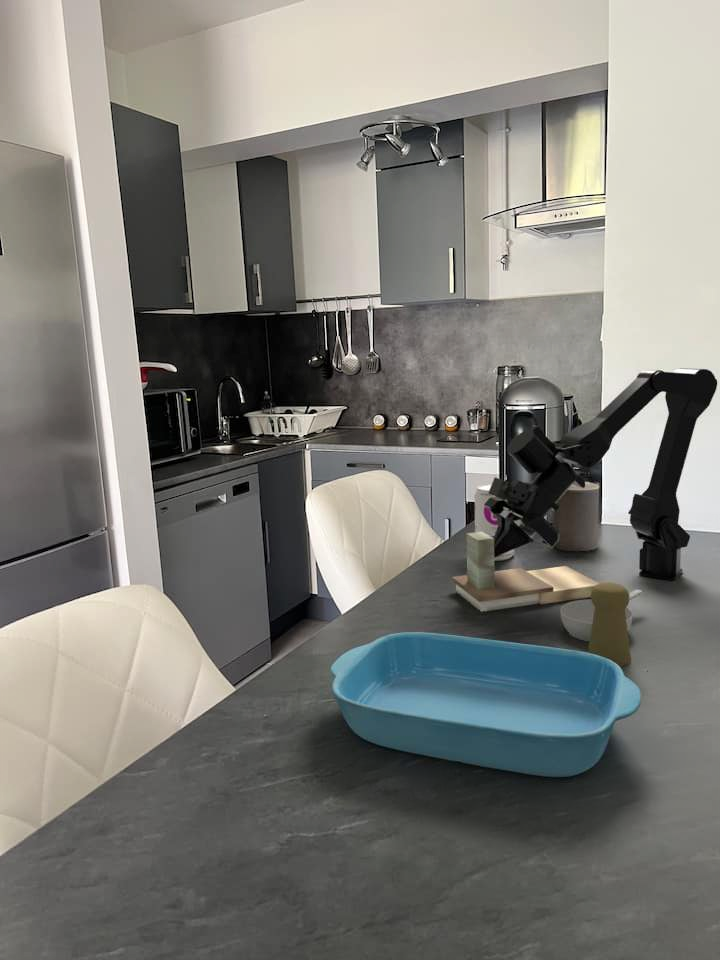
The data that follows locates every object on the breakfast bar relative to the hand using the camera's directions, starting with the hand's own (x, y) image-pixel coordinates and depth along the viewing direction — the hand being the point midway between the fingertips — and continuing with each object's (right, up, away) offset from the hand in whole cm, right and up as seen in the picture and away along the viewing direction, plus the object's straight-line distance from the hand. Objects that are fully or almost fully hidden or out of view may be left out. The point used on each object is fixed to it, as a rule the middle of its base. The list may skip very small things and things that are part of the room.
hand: (489, 556), depth 132 cm
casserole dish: (-9, -17, -42) cm, 46 cm away
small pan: (+17, -10, -13) cm, 24 cm away
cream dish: (+2, -8, +2) cm, 8 cm away
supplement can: (+6, -3, +27) cm, 28 cm away
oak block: (+13, -6, +5) cm, 15 cm away
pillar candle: (+24, -1, +32) cm, 40 cm away
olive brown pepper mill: (+13, -12, -25) cm, 30 cm away
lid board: (+2, -5, +2) cm, 6 cm away
